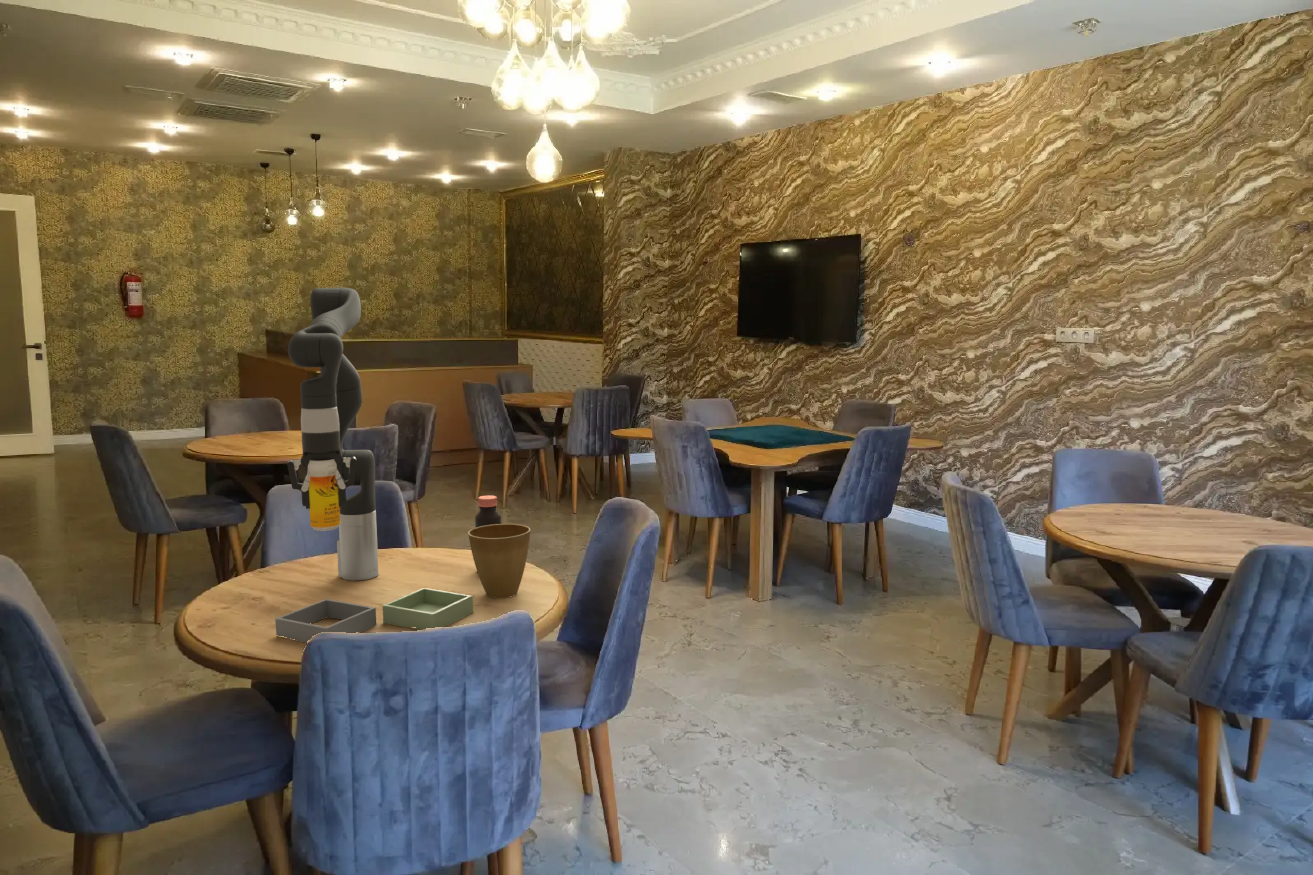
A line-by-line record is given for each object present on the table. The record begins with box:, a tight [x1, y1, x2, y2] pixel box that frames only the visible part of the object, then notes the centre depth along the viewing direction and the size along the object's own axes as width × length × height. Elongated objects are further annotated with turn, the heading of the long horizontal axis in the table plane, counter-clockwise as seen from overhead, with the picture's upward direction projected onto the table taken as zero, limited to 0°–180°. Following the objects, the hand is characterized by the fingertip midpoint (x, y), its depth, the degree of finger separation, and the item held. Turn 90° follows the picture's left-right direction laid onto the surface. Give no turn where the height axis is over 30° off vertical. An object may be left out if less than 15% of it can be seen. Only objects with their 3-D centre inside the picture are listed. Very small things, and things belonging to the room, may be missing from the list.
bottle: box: [474, 494, 502, 528], centre depth 236 cm, size 7×7×20 cm
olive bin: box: [382, 587, 474, 630], centre depth 201 cm, size 14×14×4 cm
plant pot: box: [467, 523, 531, 599], centre depth 217 cm, size 15×15×16 cm
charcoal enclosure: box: [275, 598, 377, 644], centre depth 193 cm, size 14×14×4 cm
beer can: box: [306, 459, 341, 532], centre depth 189 cm, size 6×6×15 cm
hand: (324, 506), depth 190 cm, fingers closed on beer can, 6 cm apart
